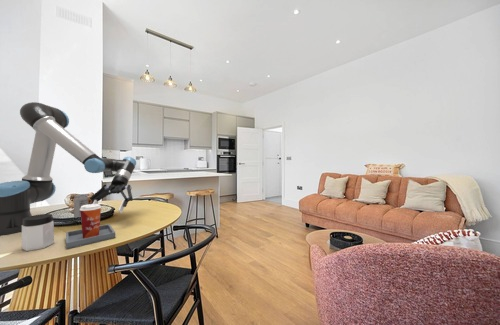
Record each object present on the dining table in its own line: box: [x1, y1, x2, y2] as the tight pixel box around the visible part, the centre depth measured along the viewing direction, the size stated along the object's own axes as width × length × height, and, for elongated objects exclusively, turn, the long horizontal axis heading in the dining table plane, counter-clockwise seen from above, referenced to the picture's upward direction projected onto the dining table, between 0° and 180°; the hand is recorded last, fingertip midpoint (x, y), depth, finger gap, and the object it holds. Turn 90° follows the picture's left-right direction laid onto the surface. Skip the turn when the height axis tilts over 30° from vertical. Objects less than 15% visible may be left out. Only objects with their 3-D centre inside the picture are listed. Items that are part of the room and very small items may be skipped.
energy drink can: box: [73, 193, 89, 218], centre depth 107 cm, size 6×6×15 cm
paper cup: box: [80, 203, 103, 239], centre depth 86 cm, size 8×8×14 cm
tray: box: [65, 223, 116, 250], centre depth 86 cm, size 16×15×2 cm
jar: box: [21, 213, 55, 252], centre depth 78 cm, size 9×8×12 cm
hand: (105, 212), depth 97 cm, fingers open, 13 cm apart
